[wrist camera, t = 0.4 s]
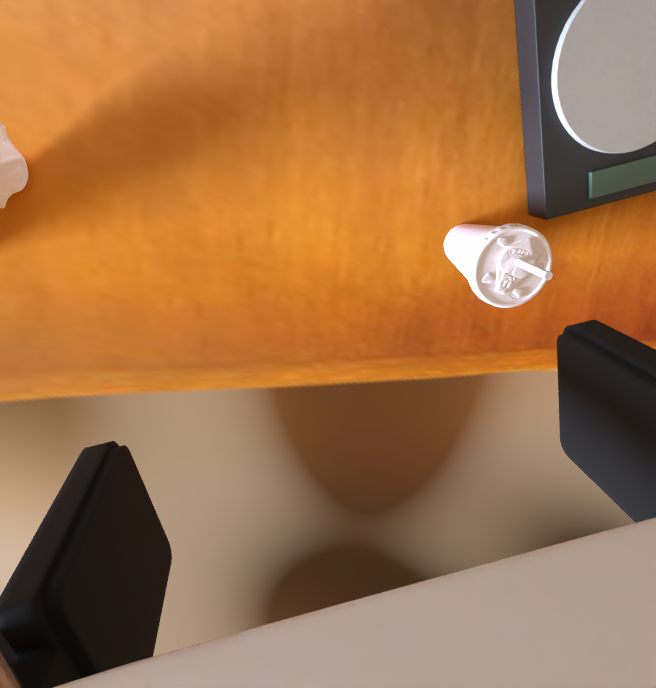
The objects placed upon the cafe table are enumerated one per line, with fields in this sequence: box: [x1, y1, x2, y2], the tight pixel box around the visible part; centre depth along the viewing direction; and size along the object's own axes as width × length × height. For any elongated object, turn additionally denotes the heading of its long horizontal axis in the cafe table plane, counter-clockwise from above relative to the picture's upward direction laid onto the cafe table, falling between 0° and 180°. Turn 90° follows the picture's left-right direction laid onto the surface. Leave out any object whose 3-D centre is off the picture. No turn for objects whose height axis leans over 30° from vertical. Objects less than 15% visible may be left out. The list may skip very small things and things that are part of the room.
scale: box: [514, 0, 656, 220], centre depth 42 cm, size 18×15×4 cm
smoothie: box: [444, 224, 552, 308], centre depth 40 cm, size 6×6×14 cm
